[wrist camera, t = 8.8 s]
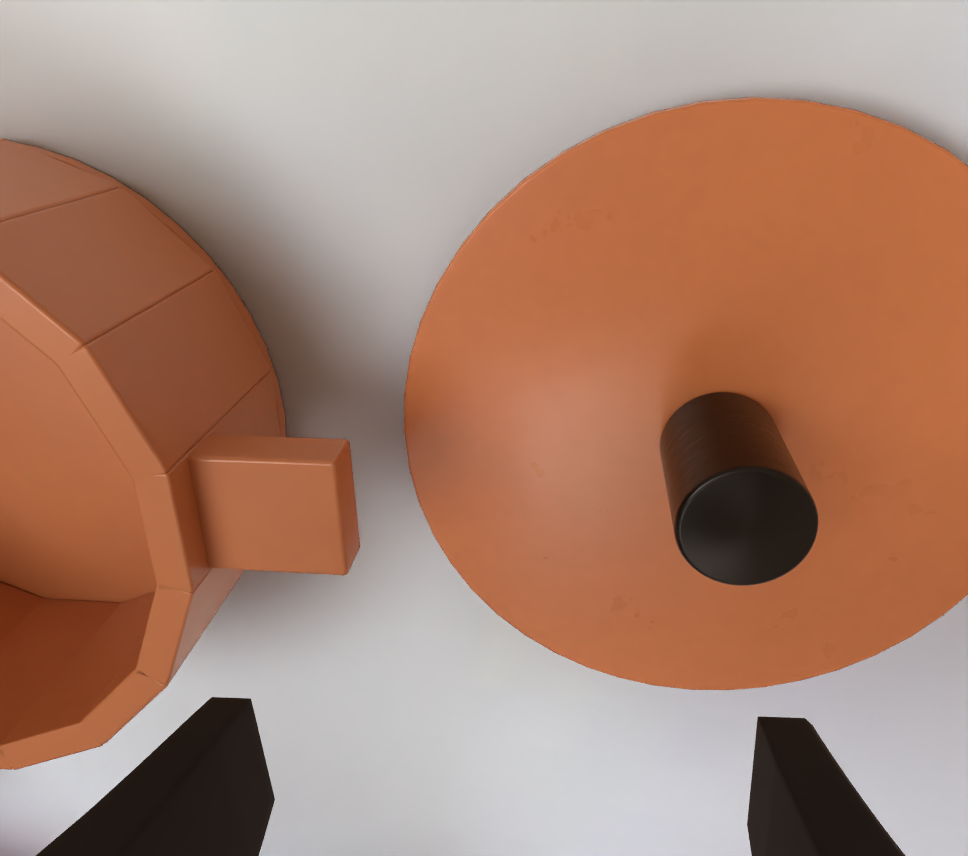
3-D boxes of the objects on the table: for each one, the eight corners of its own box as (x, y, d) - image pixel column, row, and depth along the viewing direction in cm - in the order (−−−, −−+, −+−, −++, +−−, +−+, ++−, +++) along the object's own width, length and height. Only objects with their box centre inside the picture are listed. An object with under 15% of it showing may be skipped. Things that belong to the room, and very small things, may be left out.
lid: (962, 677, 20) (1059, 836, 16) (428, 644, 21) (390, 782, 17) (1135, 88, 14) (1350, 102, 10) (393, 101, 16) (325, 117, 12)
